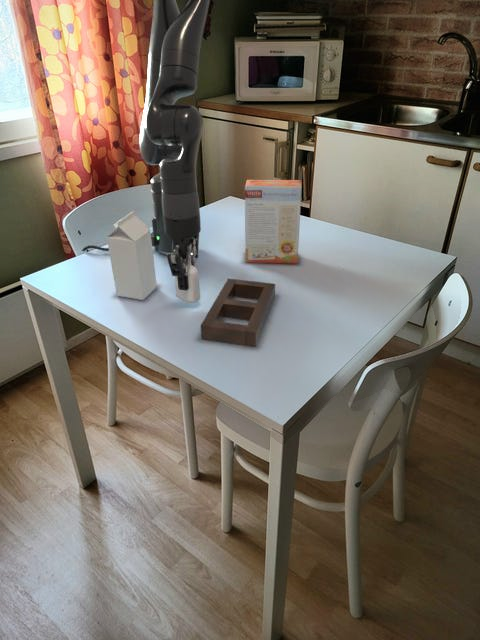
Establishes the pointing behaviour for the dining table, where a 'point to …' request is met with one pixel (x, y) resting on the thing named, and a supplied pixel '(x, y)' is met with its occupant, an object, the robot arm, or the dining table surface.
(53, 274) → the dining table surface
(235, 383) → the dining table surface
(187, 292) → the eye dropper bottle
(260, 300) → the holder
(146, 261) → the milk carton
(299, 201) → the cracker box
